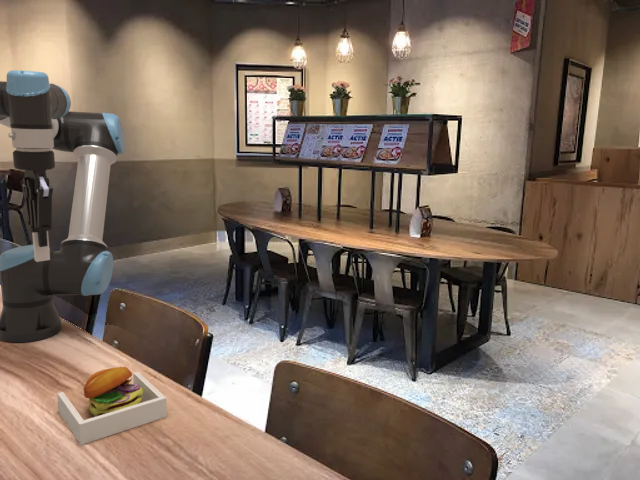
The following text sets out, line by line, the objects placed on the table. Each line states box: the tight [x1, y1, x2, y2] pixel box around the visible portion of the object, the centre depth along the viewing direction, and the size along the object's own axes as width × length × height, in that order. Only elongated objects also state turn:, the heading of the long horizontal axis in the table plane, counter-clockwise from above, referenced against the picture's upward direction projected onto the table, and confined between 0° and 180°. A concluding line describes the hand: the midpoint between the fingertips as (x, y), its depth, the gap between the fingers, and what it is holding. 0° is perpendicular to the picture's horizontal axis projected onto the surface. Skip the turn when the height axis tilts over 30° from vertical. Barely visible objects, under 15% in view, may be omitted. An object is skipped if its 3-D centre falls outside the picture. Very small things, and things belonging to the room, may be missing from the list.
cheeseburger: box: [83, 366, 144, 417], centre depth 105 cm, size 10×11×10 cm
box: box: [57, 371, 167, 446], centre depth 104 cm, size 14×16×4 cm
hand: (42, 259), depth 115 cm, fingers closed
